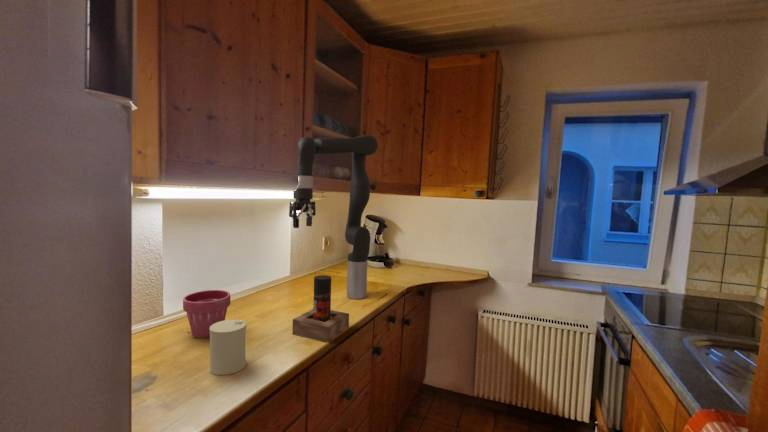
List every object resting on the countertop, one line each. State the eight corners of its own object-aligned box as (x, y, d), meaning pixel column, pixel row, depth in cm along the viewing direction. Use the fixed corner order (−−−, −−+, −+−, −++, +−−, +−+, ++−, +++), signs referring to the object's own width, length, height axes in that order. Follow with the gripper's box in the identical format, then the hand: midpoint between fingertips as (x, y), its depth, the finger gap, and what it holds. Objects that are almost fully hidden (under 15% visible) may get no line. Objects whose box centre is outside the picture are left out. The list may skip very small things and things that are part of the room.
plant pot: (173, 335, 111) (172, 297, 111) (210, 321, 124) (210, 287, 123) (203, 345, 106) (203, 304, 105) (239, 329, 118) (239, 293, 118)
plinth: (316, 320, 128) (316, 307, 128) (348, 327, 123) (349, 313, 123) (292, 334, 116) (292, 319, 115) (327, 342, 110) (327, 326, 110)
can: (252, 366, 94) (252, 324, 93) (217, 379, 87) (217, 333, 86) (236, 355, 100) (237, 315, 99) (203, 366, 93) (203, 323, 92)
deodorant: (309, 320, 118) (310, 277, 117) (320, 315, 123) (321, 274, 122) (323, 323, 115) (324, 280, 114) (333, 318, 120) (334, 276, 119)
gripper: (306, 187, 146) (305, 225, 147) (284, 186, 132) (283, 227, 134) (321, 187, 143) (320, 226, 144) (299, 186, 130) (299, 229, 131)
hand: (302, 227), depth 139 cm, fingers open, 8 cm apart
